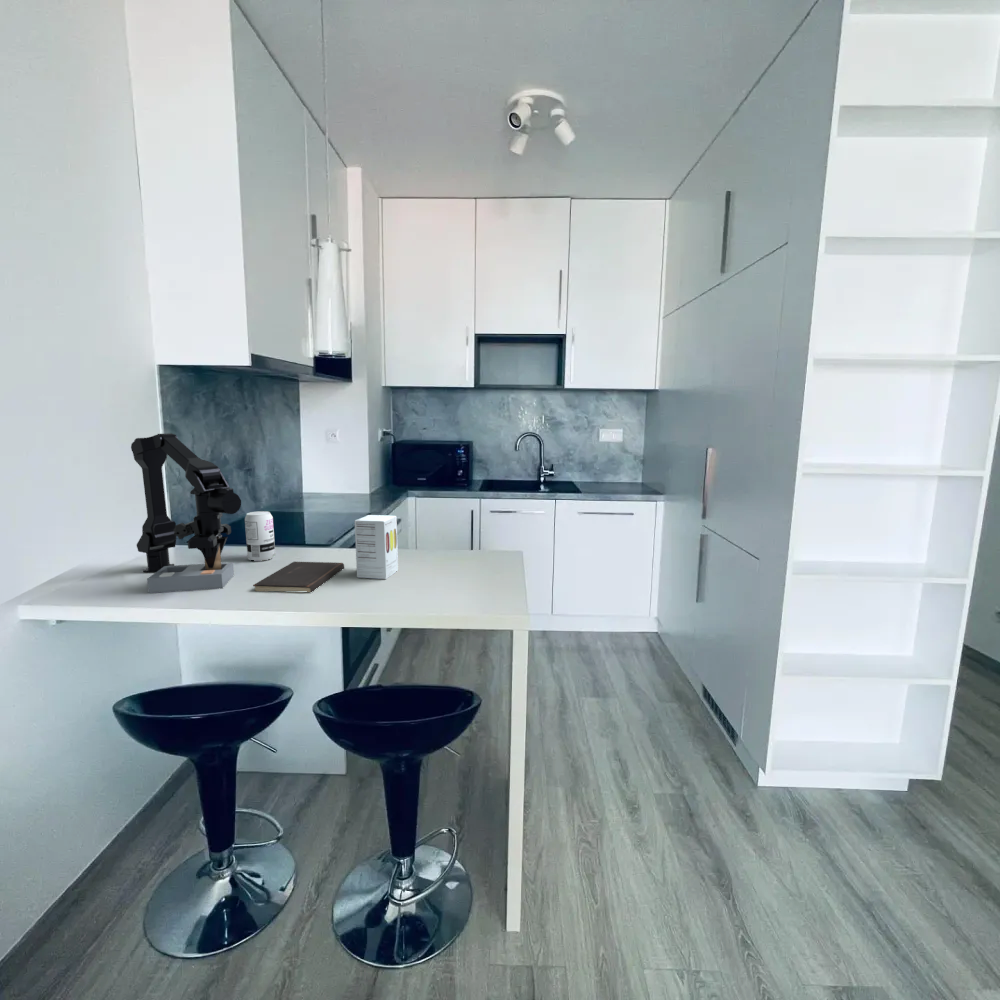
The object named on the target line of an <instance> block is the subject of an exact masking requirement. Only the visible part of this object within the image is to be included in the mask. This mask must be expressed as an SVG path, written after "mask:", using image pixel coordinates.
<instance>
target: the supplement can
mask: <svg viewBox="0 0 1000 1000" xmlns="http://www.w3.org/2000/svg"><path fill="white" fill-rule="evenodd" d="M244 528H245V541H246V553H247V559H248V560H249V561H251V560H254V561H253V562H262V561H261V560H267V561H269V560H268V559H270V560H272V559H271V558H273V557H275V556H276V545H275V542H276V541H275V530H274V517H273V515H272V514H271V512H270V511H266V510H264V511H263V510H259V511H251V512H246V515H245V517H244ZM273 559H274V558H273Z"/></svg>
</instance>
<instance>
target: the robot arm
mask: <svg viewBox="0 0 1000 1000" xmlns="http://www.w3.org/2000/svg"><path fill="white" fill-rule="evenodd" d="M130 449H131V452H132V456H133V459H134V461H135V462H136V464H138V465H139V467H140V468H141V472H142V473H141V474H142V481H143V489H144V496H145V504H146V505H145V506H146V515H147V517H146V519H145V521H144V523H143V524H142V526H141V528H142V529H141V530H142V533H141V534H142V535H140V538H139V539H138V541H137V543H136V548H137V551H138V553H139V552H140V553H143V554H146V562H147V563H146V564H147V568H145V569H143V573H156V572H157V571H158V570H160V569H161V568H163V567H164V566H175V564H174V563H170V552H169V549H171V548H175V547H176V543H177V538H178V540H182V539H184V538H185V537H188V536H191V535H193V534H194V535H193V536H191V537H190V539H188V540H187V549H191V550H192V549H193V550H194V549H195V550H196V549H197V550H198V551H200V552H201V554H202V556H203V558H205V559H204V561H205V560H206V563H207V565H208V567H209V568H213V567H214V563H215V560H216V556H217V553H218V549H219V546H220V556H221V555H222V553H223V550H224V547H225V545H226V542H227V539H228V538H229V537H228V536H223V534H226V535H230V534H231V533H232V526H231V525H229V524H228V523H222V519H221V518H223V514H228V515H233V514H236V513H238V512H239V510H240V509H241V507H242V500H241V498H240V496H239V495H238V494H237V493H235V492H234V488H232V487H231V488H230V485H229V482H228V480H226V478H225V476H224V475H223V473H222V471H221V469H220V468H219V466H217V465H216V464H214V463H213V462H211V461H209V460H205V459H201V458H200V457H198V456H197V455H196V453H194V452H193V451H192V450H191V449H190V448H189V447H187V446H186V444H184V443H183V441H181V440H180V439H179V438H178V436H177V434H175V433H171V432H170V433H169V432H168V433H157V434H154V435H152V436H148V437H137V438H135V439H134V441H133V442H132V443H131V446H130ZM168 456H169V457H170V458H171V459H172V461H174V462H175V463H176V464H177V465H178V466H180V467H181V468H182V470H183V471H185V475H184V476H185V479H186V480H187V481H188V482H189V484H190V485H191V487H194V488H193V489H192V490H190V491H189V493H190V495H194V498H195V509H196V515H195V516H194V517H193V521H192V520H191V521H190V522H187V523H185V522H180V523H178V524H177V523H176V521H174V520H172V519H171V518H170V517H169V516H168V512H167V504H166V493H165V484H164V477H163V476H164V475H163V466H164V464H165V462H166V460H167V458H168Z"/></svg>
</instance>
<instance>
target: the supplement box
mask: <svg viewBox="0 0 1000 1000" xmlns="http://www.w3.org/2000/svg"><path fill="white" fill-rule="evenodd" d="M397 521H398V518H397V515H386V514H385V515H382V514H381V515H379V514H367V515H365V516H363V517H360V518H358V519H355V520H354V538H355V561H356V563H355V564H356V578H359V579H361V578H362V579H377V580H387V579H388V578H390V577H391V576H393V575H394V574H396V573H397V572H398V571H399V557H398V556H399V553H398V552H399V549H398V548H399V547H398V524H397ZM396 571H397V572H396Z"/></svg>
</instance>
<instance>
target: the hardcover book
mask: <svg viewBox="0 0 1000 1000" xmlns="http://www.w3.org/2000/svg"><path fill="white" fill-rule="evenodd" d="M342 569H343V570H344V569H345V564H344V562H325V561H324V562H323V561H321V562H320V561H293V562H290V563H288V564H287V565H285V566H283V567H281V568H280V569H278V570H276V571H275V572H273V573H271V574H269V575H268V576H266V577H265V578H262V579H261V580H259V581H257V582H255V583H254V584H252V586H253V587H254V591H255V592H268V591H307V592H312V591H313V592H315V591H316V590H317V589H319V588H320V587H322V586H323V585H324V584H325V583H327V582H328V581H329V580H331V579H332V578H334V577H335V576H336V575H338V574H339V573H340V572H342V571H343V570H342ZM334 575H335V576H334ZM330 578H331V579H330ZM326 581H327V582H326ZM323 583H324V584H323ZM322 584H323V585H322ZM319 586H320V587H319ZM318 587H319V588H318ZM316 588H317V589H316ZM315 589H316V590H315ZM314 590H315V591H314ZM313 592H312V593H313Z"/></svg>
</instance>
